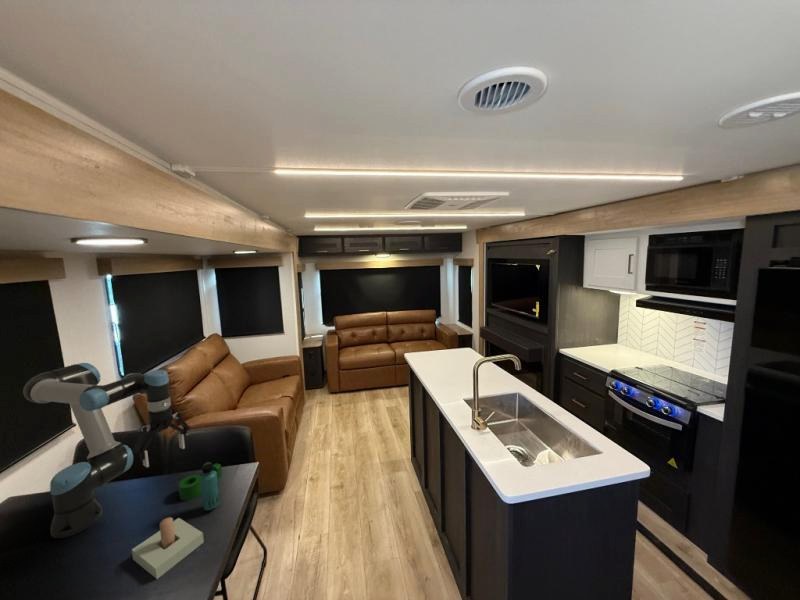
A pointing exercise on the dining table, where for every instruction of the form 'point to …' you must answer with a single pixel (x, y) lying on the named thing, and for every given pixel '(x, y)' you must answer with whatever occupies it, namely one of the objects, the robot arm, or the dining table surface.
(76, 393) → the robot arm
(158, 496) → the dining table surface
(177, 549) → the socket board
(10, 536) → the dining table surface
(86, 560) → the dining table surface
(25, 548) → the dining table surface
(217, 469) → the slotted cylinder bracket
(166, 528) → the peg
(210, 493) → the beverage bottle
